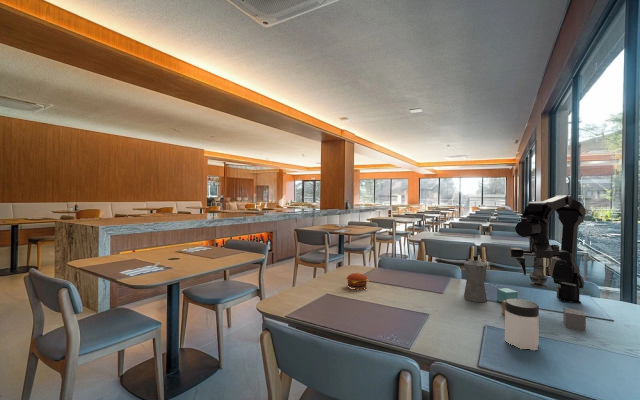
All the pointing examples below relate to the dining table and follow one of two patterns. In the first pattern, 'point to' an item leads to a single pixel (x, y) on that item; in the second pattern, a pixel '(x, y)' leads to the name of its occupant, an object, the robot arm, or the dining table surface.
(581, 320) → the grey cube
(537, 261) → the salt shaker
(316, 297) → the dining table surface
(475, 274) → the coffeepot
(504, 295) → the teal block
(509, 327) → the jar
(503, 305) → the walnut block
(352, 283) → the hamburger
